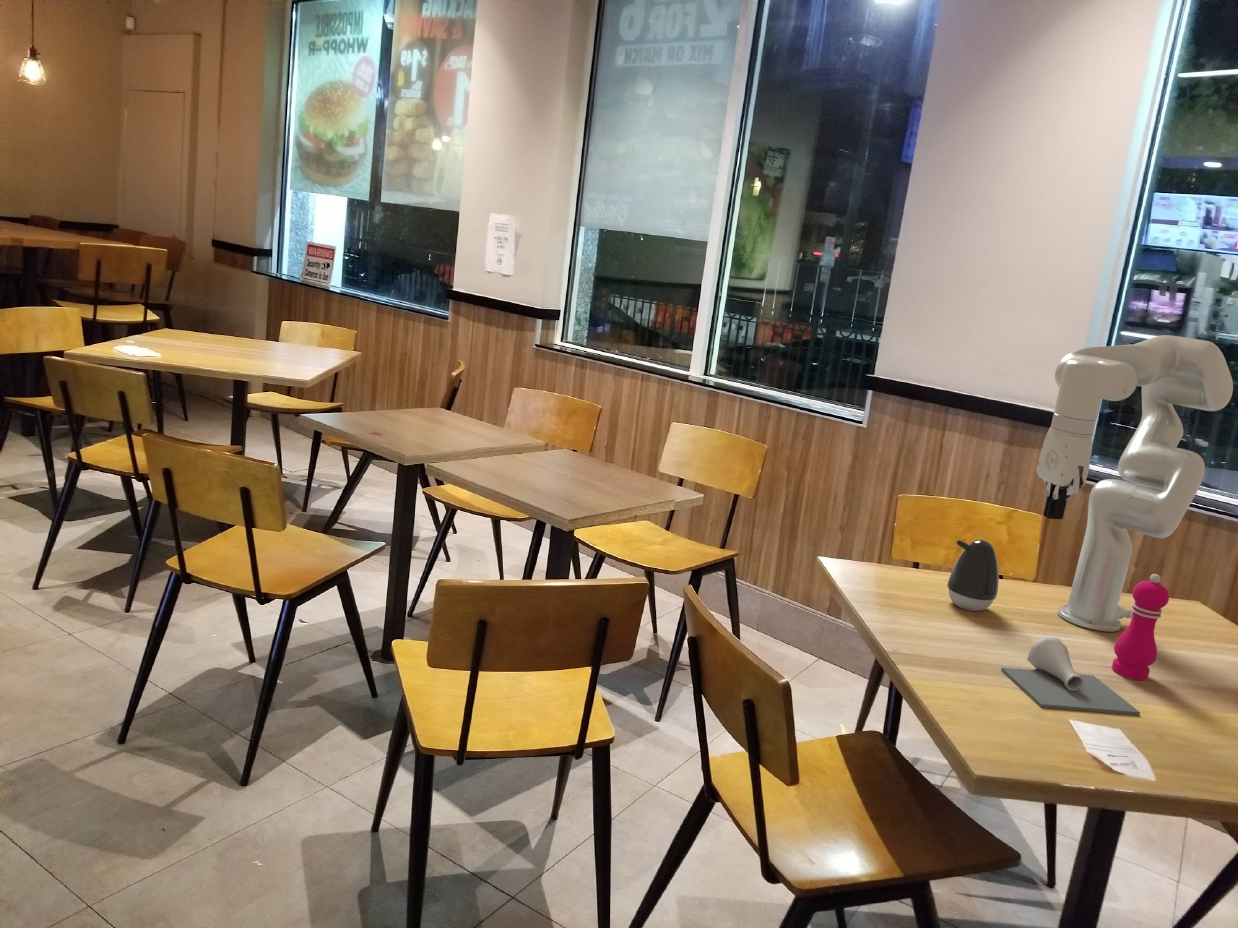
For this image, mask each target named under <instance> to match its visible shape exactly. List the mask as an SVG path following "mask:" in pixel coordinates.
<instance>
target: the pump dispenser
mask: <svg viewBox="0 0 1238 928" xmlns="http://www.w3.org/2000/svg"><path fill="white" fill-rule="evenodd" d="M956 545H958V546H959V547H960V548H962V549H963V550H962V552H961V553H960V555H959V557H958V559H957V560H956V562H954V565H953V568H952V571H951V573H950V575H949V578H948V581H947V585H946V586H947V588H948V595H949V598H950V600H951V602H953V603H954V605H956V606H957V607H959V608H961V609H963V610H966V611H971V612H981V611H984V610H986V609H987V608H989V607H990V606H991V605H992V604H993V602H994V601H995V599H997V596H998V592H999V582H1000V581H999V579H1000V578H999V575H1000V574H999V573H1000V572H999V565H998V564H999V563H998V558H997V554H996V550H995V549H994V546H993V545H992V544H991V543H990V542H989V541H988V540H984V539H975V540H973V541H971V542H970V543H969V544H968V543H966V542H964V541H962V540H960V539H958V540H957V541H956Z"/></svg>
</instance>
